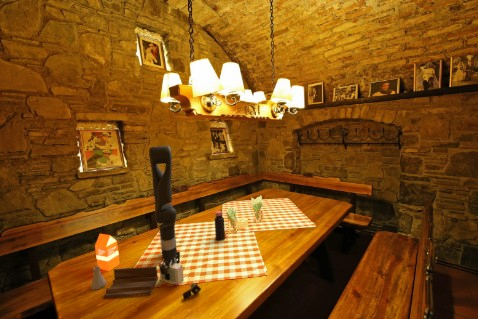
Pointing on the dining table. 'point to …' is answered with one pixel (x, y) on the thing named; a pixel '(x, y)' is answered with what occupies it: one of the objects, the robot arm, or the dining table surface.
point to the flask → (97, 279)
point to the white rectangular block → (174, 274)
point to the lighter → (193, 289)
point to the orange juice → (107, 252)
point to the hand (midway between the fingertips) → (171, 275)
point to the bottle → (219, 226)
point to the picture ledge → (132, 282)
